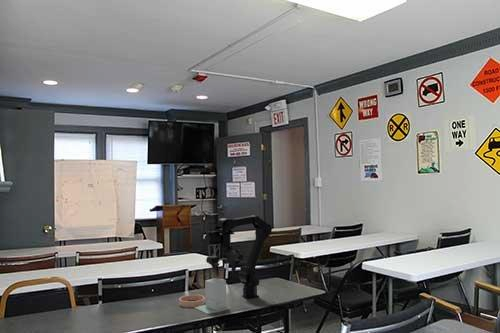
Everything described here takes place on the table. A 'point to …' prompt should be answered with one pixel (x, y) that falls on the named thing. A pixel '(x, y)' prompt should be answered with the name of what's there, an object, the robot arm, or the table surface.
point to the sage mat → (208, 310)
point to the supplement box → (215, 293)
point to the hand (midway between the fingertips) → (225, 275)
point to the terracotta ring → (186, 303)
